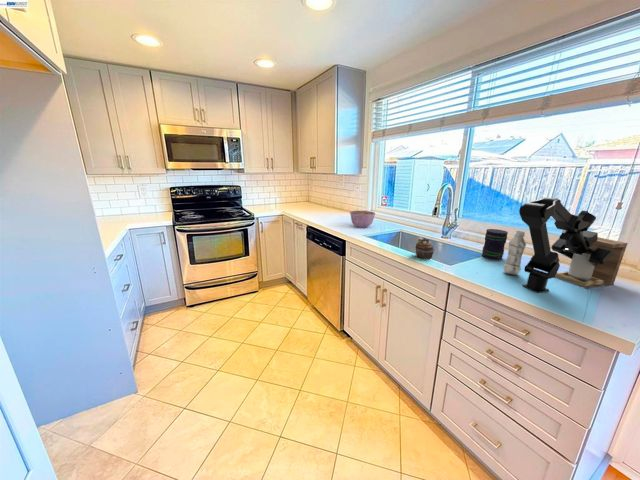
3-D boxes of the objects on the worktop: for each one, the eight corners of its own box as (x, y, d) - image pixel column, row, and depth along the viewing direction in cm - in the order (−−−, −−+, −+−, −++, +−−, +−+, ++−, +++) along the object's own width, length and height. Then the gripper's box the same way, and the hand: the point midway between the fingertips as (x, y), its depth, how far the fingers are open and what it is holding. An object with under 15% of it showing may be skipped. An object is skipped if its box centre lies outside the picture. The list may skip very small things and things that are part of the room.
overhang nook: (585, 288, 110) (599, 245, 105) (549, 275, 123) (559, 236, 118) (613, 284, 114) (627, 243, 109) (575, 272, 127) (586, 234, 122)
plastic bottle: (500, 273, 124) (510, 231, 118) (503, 269, 128) (512, 229, 123) (517, 277, 119) (528, 234, 114) (520, 273, 124) (529, 232, 119)
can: (563, 273, 122) (570, 248, 118) (581, 274, 120) (589, 249, 117) (575, 279, 114) (583, 253, 111) (595, 281, 113) (604, 254, 110)
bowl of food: (344, 226, 216) (344, 212, 213) (359, 223, 229) (360, 209, 226) (363, 230, 202) (364, 215, 199) (379, 227, 215) (380, 213, 212)
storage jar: (505, 258, 145) (511, 231, 141) (497, 261, 140) (503, 234, 136) (486, 253, 153) (491, 228, 149) (477, 256, 148) (482, 230, 144)
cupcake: (426, 261, 139) (429, 242, 136) (410, 256, 146) (412, 238, 143) (436, 257, 144) (439, 240, 141) (421, 253, 152) (423, 236, 149)
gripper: (617, 230, 102) (626, 256, 107) (562, 220, 119) (573, 243, 125) (597, 251, 102) (607, 275, 107) (545, 238, 119) (556, 260, 125)
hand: (585, 262), depth 116 cm, fingers closed on can, 7 cm apart
